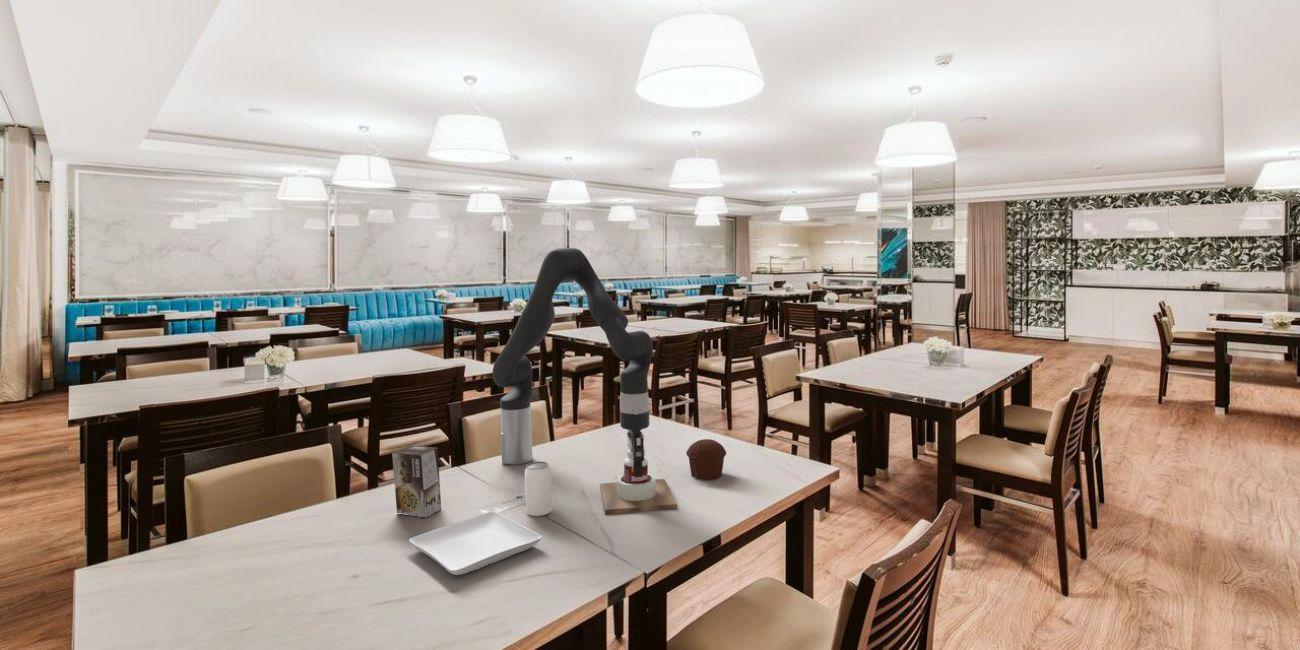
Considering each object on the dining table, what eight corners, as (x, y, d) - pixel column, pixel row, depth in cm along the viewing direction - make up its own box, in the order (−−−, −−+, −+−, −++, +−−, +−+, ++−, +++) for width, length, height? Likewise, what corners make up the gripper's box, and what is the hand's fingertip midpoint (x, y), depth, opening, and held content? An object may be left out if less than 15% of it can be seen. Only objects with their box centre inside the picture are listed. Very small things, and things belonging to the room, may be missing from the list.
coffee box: (442, 508, 153) (439, 447, 152) (425, 519, 147) (421, 455, 146) (413, 504, 156) (409, 444, 155) (395, 514, 150) (391, 451, 149)
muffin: (701, 485, 166) (701, 449, 165) (678, 473, 176) (678, 440, 175) (734, 476, 173) (734, 442, 172) (710, 465, 182) (710, 433, 181)
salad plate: (493, 522, 146) (493, 508, 145) (545, 550, 131) (544, 535, 130) (407, 553, 131) (406, 537, 131) (453, 588, 116) (452, 571, 116)
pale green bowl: (619, 502, 152) (619, 486, 152) (615, 487, 162) (615, 473, 162) (658, 499, 154) (658, 483, 153) (652, 484, 164) (652, 470, 163)
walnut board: (605, 514, 148) (604, 509, 148) (600, 487, 166) (599, 483, 165) (677, 508, 151) (677, 503, 150) (664, 482, 168) (664, 478, 168)
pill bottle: (631, 497, 154) (631, 455, 152) (619, 489, 159) (619, 449, 158) (652, 492, 157) (652, 451, 156) (639, 485, 162) (639, 445, 161)
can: (527, 507, 153) (525, 461, 152) (553, 505, 154) (551, 460, 153) (524, 517, 147) (522, 470, 146) (551, 516, 147) (549, 468, 146)
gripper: (617, 403, 162) (618, 461, 164) (623, 416, 148) (624, 480, 150) (645, 401, 163) (646, 460, 165) (653, 414, 149) (654, 478, 151)
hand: (635, 469), depth 157 cm, fingers open, 8 cm apart
